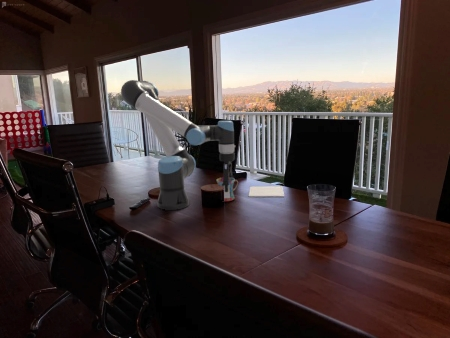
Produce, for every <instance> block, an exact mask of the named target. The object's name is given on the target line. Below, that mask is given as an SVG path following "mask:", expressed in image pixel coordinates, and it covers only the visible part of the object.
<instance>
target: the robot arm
mask: <svg viewBox="0 0 450 338" xmlns="http://www.w3.org/2000/svg"><path fill="white" fill-rule="evenodd" d="M120 94H121V98H122V99H123V101H124V103H126V104H127V105H128V106H131V107H132V108H133V109H135V110H137V111H139V112H140V113H143V114H144V116H145V118H146V120H147V122H148V123H149V125H150V127H151V129H152V131H153V133H154V134H155V136H156V138H157V140H158V143H159V144H160V146H161V148H162V150H163V151H164V154H165V157H162V158H161V159H159V160H158V162H157V170H158V180H159V195H158V199H157V208H158V207H159V208H161V209H160V210H162V209H165V210H164V211H177V209H178V210H182V209H186V208H187V207H189V206H190V200H189V197H188V194H187V192H186V190H185V179H186V178H188V177H190V176H191V175H192V174H193V173H194V171H195V169H196V164H197V163H196V159H195V157H193V156H192V155H191V154H189V153H188V151H187V149H186V148H185V147H182V146H181V144H180V143H179V141H178V138H177V137H176V135H175V133H177V134H179V135H180V136H182V137H183V138H185V139H186V140H187V142H188V143H189V144H190V145H191V146H198V145H199V146H200V145H202V144H204V143H207V142H210V141H211V142H212V141H218V152H219V153H218V154H219V156H218V157H219V161H220V162H223V164H222V168H223V169H222V171H223V172H222V173H223V174H222V178H223V184H222V185H224V198H230V188H229V177H230V178H234V175H233V169H232V168H233V165H232V162H233V161H235V160H236V155H235V154H236V153H235V148H236V145H235V129H234V122H233V121H232V120H219V121H218V122H217V124H216V125H213V124H212V125H202V124H201V125H197V124H195V123H193V122H192V121H191V120H189V119H187V118H185V117H184V116H182V115H181V114H179V113H177V112H176V111H174V110H172V109H171V108H170V107H168V106H166V105H165V104H164V103H162V102H161V101H160V99H159V89H158V88H157V87H156V85H155V84H153V82H151V81H148V80H137V79H136V80H135V79H131V80H127V81H126V82H124V83H123V84H122V85H121V89H120ZM173 131H174V132H175V133H174V132H173ZM225 182H227V183H225ZM159 208H158V209H159Z"/></svg>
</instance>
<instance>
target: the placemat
mask: <svg viewBox="0 0 450 338" xmlns="http://www.w3.org/2000/svg"><path fill="white" fill-rule="evenodd" d="M248 197H249V198H285V193H284V188H283V186H282V185H281V186H274V185H273V186H271V185H270V186H268V185H267V186H250V187H249V192H248Z"/></svg>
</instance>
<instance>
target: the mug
mask: <svg viewBox="0 0 450 338" xmlns="http://www.w3.org/2000/svg"><path fill="white" fill-rule="evenodd" d="M235 182H236V186H235V187H234V184H235ZM216 183H217V185H220V186H223V187H224V185H222V184H223V177H219V178H217V179H216ZM225 183H227V182H225ZM238 186H239V181H238V180H237V179H235V178H234V177H233V178H230V177H229V188H230V198H224V201H223V202H230V201H231V202H232V201H233V200H235V198H236V197H235V195H234V191H235V190H236V189H237V187H238Z"/></svg>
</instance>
